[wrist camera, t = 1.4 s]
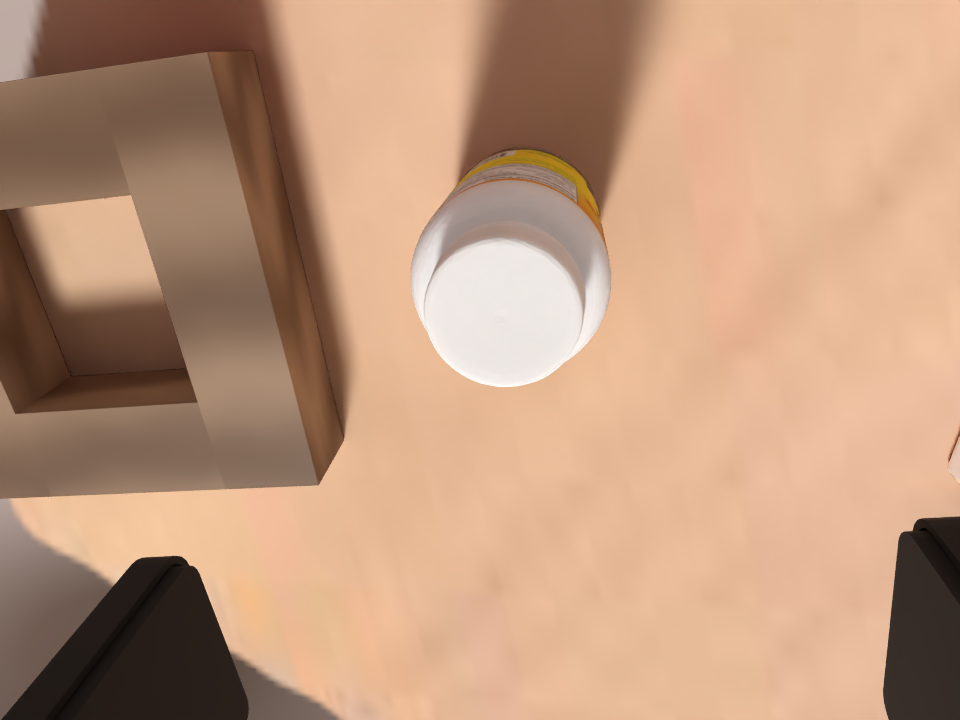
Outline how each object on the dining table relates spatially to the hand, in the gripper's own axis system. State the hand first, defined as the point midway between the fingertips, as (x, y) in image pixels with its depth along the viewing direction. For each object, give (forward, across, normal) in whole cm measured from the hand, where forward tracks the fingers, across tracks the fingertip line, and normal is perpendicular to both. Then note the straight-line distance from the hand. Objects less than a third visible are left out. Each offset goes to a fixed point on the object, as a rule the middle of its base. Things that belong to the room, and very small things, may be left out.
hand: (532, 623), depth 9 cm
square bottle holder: (+19, +18, -1) cm, 26 cm away
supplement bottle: (+19, +1, -1) cm, 19 cm away
